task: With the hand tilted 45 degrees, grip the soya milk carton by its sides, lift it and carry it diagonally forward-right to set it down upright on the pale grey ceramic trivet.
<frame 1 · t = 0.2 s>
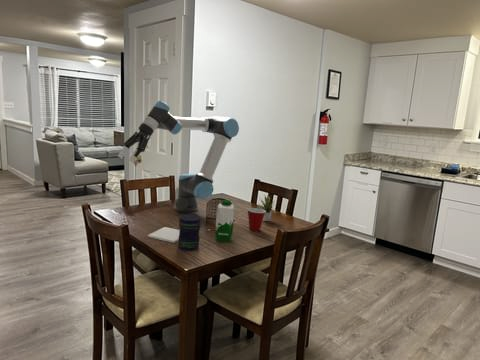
hand: (125, 159, 181), 36 cm above the table, tool tilted 35°, fingers open, 13 cm apart
soya milk: (223, 239, 179), on the table
trivet: (169, 235, 179), on the table
plastic cup: (254, 230, 199), on the table
storage jar: (188, 247, 166), on the table
house plant: (263, 220, 218), on the table
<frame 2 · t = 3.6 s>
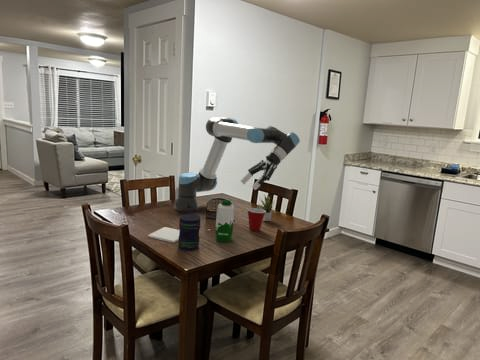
hand: (247, 185, 178), 28 cm above the table, tool tilted 45°, fingers open, 13 cm apart
nothing on the table moved.
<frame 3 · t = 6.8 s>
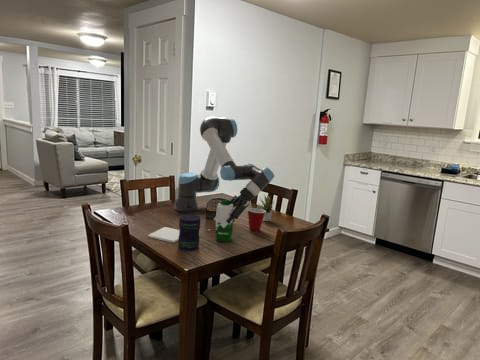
hand: (218, 223, 176), 9 cm above the table, tool tilted 45°, fingers closed on soya milk, 8 cm apart
soya milk: (223, 239, 179), on the table, touching gripper
everything else where it was.
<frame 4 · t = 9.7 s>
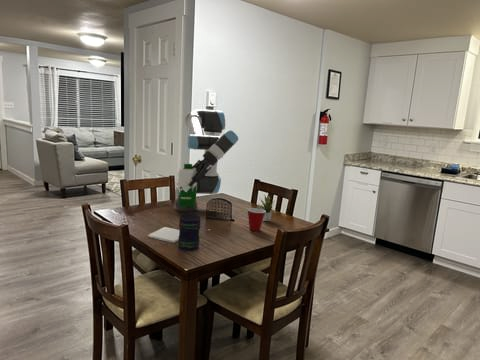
hand: (181, 188, 171), 26 cm above the table, tool tilted 45°, fingers closed on soya milk, 8 cm apart
soya milk: (187, 205, 174), point 17 cm above the table, touching gripper
everything else where it was.
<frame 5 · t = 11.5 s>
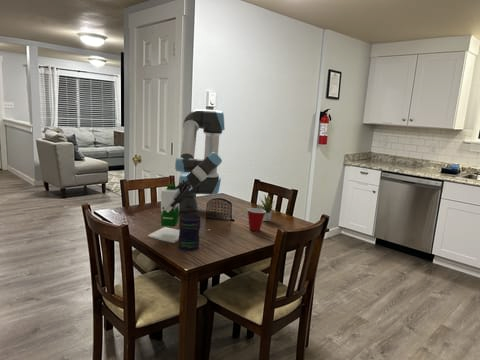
hand: (163, 208, 175), 15 cm above the table, tool tilted 45°, fingers closed on soya milk, 8 cm apart
soya milk: (169, 224, 178), point 6 cm above the table, touching gripper
everything else where it was.
when the fingers open (10 cm above the table, at t = 13.0 s): soya milk stays where it is, resting on trivet.
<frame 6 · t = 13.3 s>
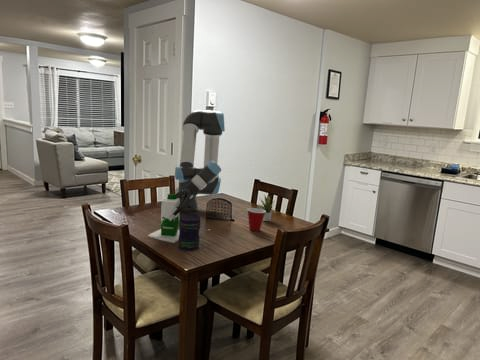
hand: (165, 215, 176), 11 cm above the table, tool tilted 45°, fingers open, 13 cm apart
soya milk: (169, 233, 179), point 1 cm above the table, touching trivet
everything else where it was.
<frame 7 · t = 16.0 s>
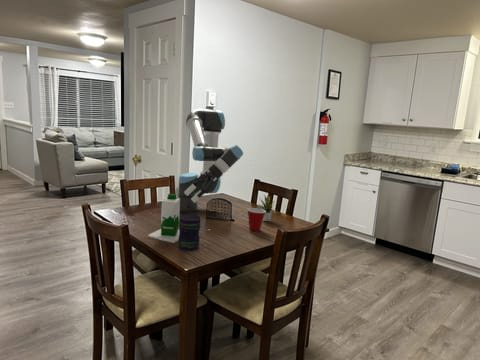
hand: (189, 197, 179), 20 cm above the table, tool tilted 45°, fingers open, 13 cm apart
nothing on the table moved.
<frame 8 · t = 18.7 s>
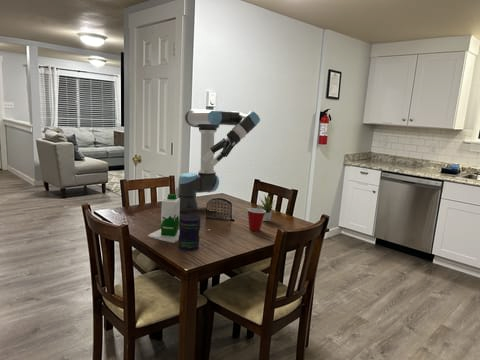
hand: (207, 162, 183), 38 cm above the table, tool tilted 45°, fingers open, 13 cm apart
nothing on the table moved.
at the end: soya milk 0.2 cm from the trivet (horizontally); soya milk tilted 0°; the gripper is holding nothing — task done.
